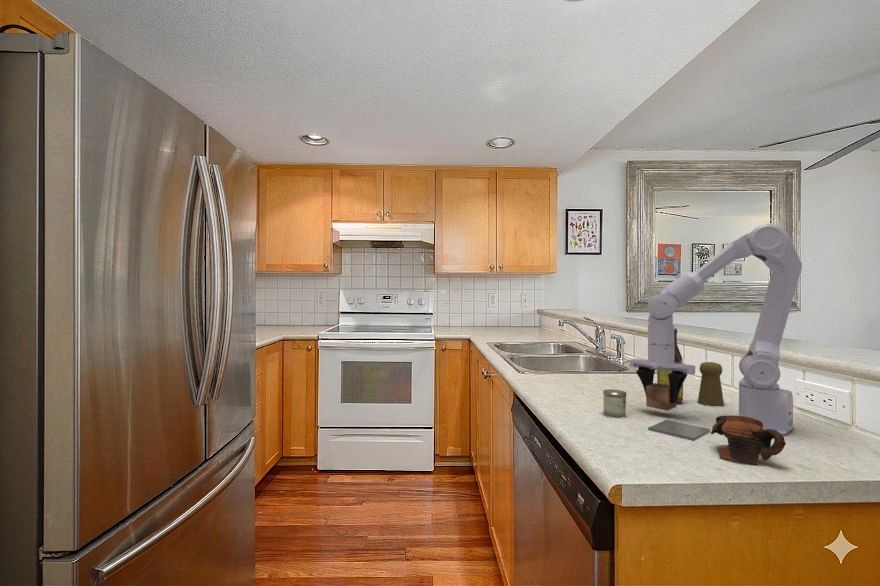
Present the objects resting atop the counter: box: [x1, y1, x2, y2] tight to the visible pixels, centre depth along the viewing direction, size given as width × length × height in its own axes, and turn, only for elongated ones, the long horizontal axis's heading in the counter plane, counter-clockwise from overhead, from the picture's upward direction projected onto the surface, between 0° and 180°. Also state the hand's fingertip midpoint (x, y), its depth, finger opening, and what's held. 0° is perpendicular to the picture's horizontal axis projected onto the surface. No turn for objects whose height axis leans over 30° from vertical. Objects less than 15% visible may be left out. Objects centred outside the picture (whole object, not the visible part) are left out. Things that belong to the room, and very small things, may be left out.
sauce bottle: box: [656, 327, 684, 404], centre depth 119 cm, size 7×6×20 cm
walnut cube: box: [645, 382, 677, 411], centre depth 106 cm, size 5×5×5 cm
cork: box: [697, 361, 725, 407], centre depth 117 cm, size 6×6×11 cm
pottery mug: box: [710, 414, 787, 466], centre depth 78 cm, size 12×10×8 cm
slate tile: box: [647, 419, 711, 441], centre depth 93 cm, size 9×9×1 cm
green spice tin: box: [602, 388, 627, 419], centre depth 106 cm, size 5×5×6 cm
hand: (661, 400), depth 106 cm, fingers closed on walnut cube, 5 cm apart
